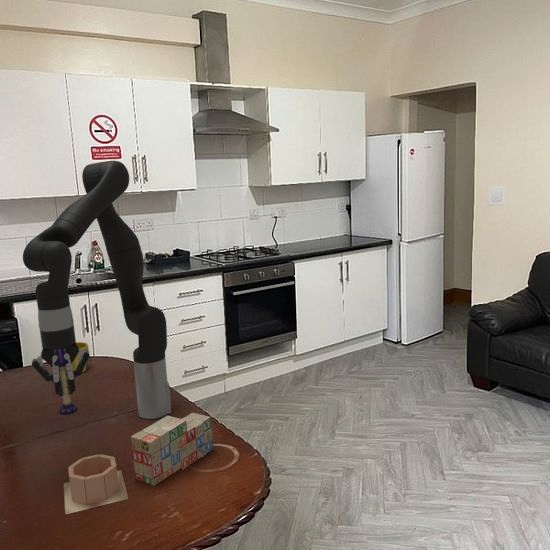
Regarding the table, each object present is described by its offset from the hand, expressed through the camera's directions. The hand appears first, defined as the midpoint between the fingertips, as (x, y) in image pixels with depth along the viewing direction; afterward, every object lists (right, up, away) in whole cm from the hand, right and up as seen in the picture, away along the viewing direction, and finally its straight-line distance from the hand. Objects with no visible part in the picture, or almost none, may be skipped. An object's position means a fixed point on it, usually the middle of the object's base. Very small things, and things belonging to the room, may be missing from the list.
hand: (65, 393), depth 133 cm
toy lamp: (0, -5, +1) cm, 5 cm away
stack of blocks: (+26, -19, +3) cm, 32 cm away
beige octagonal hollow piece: (+10, -20, -9) cm, 24 cm away
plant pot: (-23, -7, +72) cm, 76 cm away
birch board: (+10, -21, -8) cm, 25 cm away
